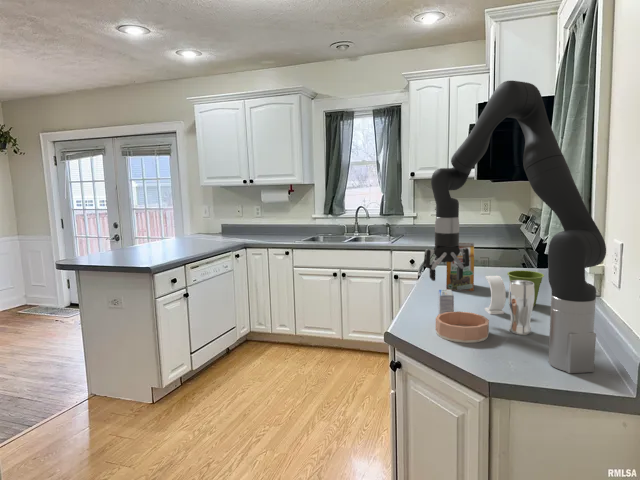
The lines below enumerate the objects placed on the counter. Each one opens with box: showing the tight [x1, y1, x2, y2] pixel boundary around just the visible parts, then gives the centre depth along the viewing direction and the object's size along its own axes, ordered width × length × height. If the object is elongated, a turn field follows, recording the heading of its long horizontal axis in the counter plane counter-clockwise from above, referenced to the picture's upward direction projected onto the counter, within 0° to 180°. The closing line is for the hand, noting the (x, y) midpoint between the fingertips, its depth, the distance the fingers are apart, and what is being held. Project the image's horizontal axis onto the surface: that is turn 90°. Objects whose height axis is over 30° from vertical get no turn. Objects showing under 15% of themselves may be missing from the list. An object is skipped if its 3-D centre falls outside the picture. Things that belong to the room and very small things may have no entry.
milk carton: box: [445, 241, 475, 292], centre depth 184 cm, size 11×11×19 cm
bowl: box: [435, 311, 490, 344], centre depth 131 cm, size 15×15×4 cm
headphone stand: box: [484, 275, 507, 315], centre depth 150 cm, size 5×6×12 cm
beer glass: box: [508, 280, 535, 336], centre depth 131 cm, size 7×7×15 cm
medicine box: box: [438, 288, 455, 314], centre depth 146 cm, size 8×4×9 cm, turn 168°
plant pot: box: [507, 269, 545, 307], centre depth 158 cm, size 12×12×11 cm
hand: (446, 279), depth 145 cm, fingers open, 8 cm apart
